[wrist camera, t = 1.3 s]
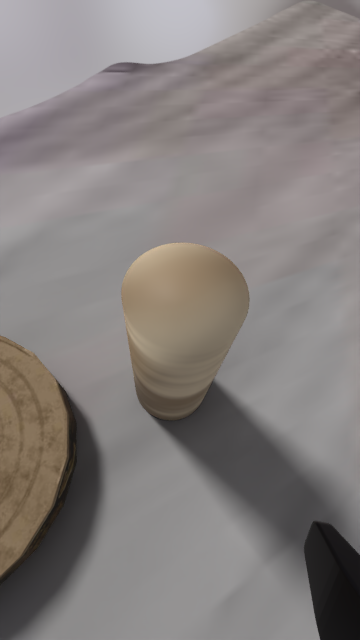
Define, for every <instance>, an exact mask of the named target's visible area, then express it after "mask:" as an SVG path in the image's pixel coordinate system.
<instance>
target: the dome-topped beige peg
mask: <svg viewBox="0 0 360 640" xmlns="http://www.w3.org/2000/svg"><path fill="white" fill-rule="evenodd" d="M121 295H122V304H123V310H124V317H125V323H126V330H127V336H128V342H129V349H130V355H131V361H132V368H133V374H134V381H135V387H136V393H137V397H138V399H139V401H140V403H141V405H142V406H143V408H144V409H145V410H146V411H147V412H148V413H150V414H151V415H153V416H155V417H157V418H159V419H163V420H179V419H182V418H185V417H187V416H189V415H190V414H192V413H193V412H194V411H195V410H196V409H197V408H198V407H199V406H200V404H201V402H202V400H203V399H204V397H205V395H206V393H207V391H208V389H209V387H210V385H211V383H212V381H213V380H214V378H215V376H216V374H217V372H218V370H219V368H220V366H221V364H222V362H223V360H224V359H225V357H226V355H227V353H228V351H229V349H230V347H231V345H232V343H233V341H234V339H235V338H236V336H237V334H238V332H239V330H240V328H241V326H242V324H243V322H244V320H245V318H246V316H247V313H248V309H249V291H248V287H247V284H246V281H245V279H244V277H243V275H242V273H241V272H240V271H239V269H238V268H237V267H236V266H235V265H234V264H233V262H231V261H230V260H229V259H228V258H227V257H225V256H224V255H222V254H221V253H219V252H217V251H215V250H213V249H211V248H208V247H205V246H202V245H198V244H192V243H171V244H166V245H162V246H159V247H156V248H153V249H151V250H149V251H147V252H146V253H144V254H143V255H141V256H140V257H139V258H138V259H137V260H136V261H135V262H134V263H133V264H132V265H131V266H130V268H129V269H128V271H127V273H126V275H125V277H124V280H123V283H122V290H121Z"/></svg>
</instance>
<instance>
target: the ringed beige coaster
mask: <svg viewBox="0 0 360 640" xmlns="http://www.w3.org/2000/svg"><path fill="white" fill-rule="evenodd" d="M75 465H76V421H75V418H74V415H73V412H72V409H71V406H70V403H69V400H68V397H67V394H66V391H65V390H64V389H63V388H62V386H61V385H60V384H59V383H58V382H57V380H56V379H55V378H54V377H53V376H52V374H51V373H50V372H49V371H48V370H47V368H46V367H45V366H44V365H43V364H42V362H41V361H40V360H39V359H38V358H37V356H36V355H35V354H34V353H33V352H31V351H29V350H27V349H25V348H24V347H22V346H20V345H18V344H16V343H15V342H13V341H11V340H9V339H7V338H6V337H3V336H0V585H1V584H2V583H3V582H4V581H5V580H6V579H7V578H8V577H9V576H10V575H11V574H12V573H13V572H14V571H15V570H16V569H17V568H18V567H19V566H20V565H21V564H22V563H23V562H24V561H25V560H26V559H27V558H28V557H29V556H30V555H31V554H32V553H33V552H34V551H35V550H36V549H37V548H38V546H39V545H40V543H41V542H42V540H43V538H44V537H45V535H46V533H47V532H48V530H49V528H50V527H51V525H52V523H53V522H54V520H55V518H56V517H57V515H58V514H59V512H60V510H61V509H62V507H63V505H64V502H65V499H66V495H67V492H68V489H69V485H70V482H71V478H72V475H73V472H74V468H75Z"/></svg>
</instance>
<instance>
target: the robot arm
mask: <svg viewBox="0 0 360 640" xmlns="http://www.w3.org/2000/svg"><path fill="white" fill-rule="evenodd" d="M304 554H305V560H306V566H307V572H308V578H309V584H310V590H311V596H312V601H313V607H314V613H315V618H316V623H317V628H318V632H319V636H320V640H360V555H359V554H358V553H357V552H356V551H355V549H354V548H353V547H352V546H351V545H350V544H349V543H348V542H347V541H346V540H345V539H344V538H343V537H342V536H341V534H340V533H339V532H338V531H337V530H336V529H335V528H334V527H333V526H332V525H331V524H329V523H326V522H320V521H314V522H313V523H312V525H311V528H310V530H309V533H308V536H307V539H306V541H305V545H304Z"/></svg>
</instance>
